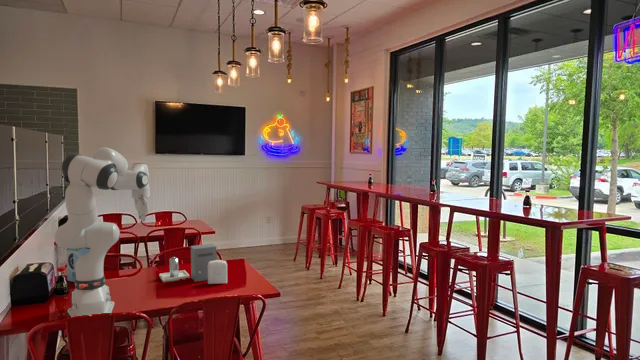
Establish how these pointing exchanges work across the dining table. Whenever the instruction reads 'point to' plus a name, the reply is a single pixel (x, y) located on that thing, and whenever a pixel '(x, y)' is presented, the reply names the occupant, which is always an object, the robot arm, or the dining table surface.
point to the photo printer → (217, 272)
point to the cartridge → (174, 267)
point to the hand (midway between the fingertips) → (141, 220)
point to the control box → (201, 260)
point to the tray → (166, 277)
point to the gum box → (74, 261)
